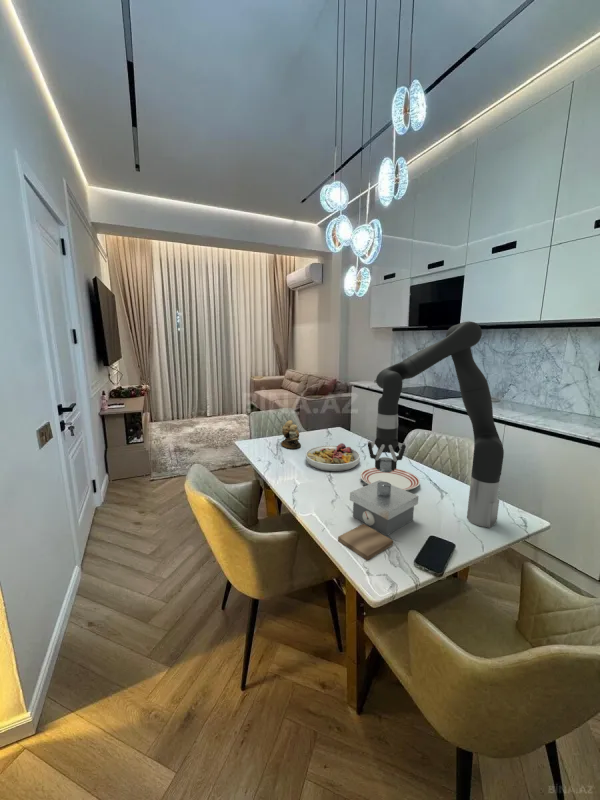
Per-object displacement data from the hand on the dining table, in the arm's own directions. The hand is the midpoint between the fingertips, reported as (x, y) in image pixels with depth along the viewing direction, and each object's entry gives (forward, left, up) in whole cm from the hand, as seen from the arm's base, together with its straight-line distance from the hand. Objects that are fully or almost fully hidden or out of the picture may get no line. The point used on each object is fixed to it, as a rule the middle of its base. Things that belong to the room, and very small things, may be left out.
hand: (385, 469), depth 123 cm
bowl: (+54, -25, -21) cm, 63 cm away
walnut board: (-6, +17, -20) cm, 27 cm away
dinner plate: (+18, -28, -21) cm, 39 cm away
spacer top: (0, 0, 0) cm, 0 cm away
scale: (0, 0, -20) cm, 20 cm away
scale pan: (0, 0, -13) cm, 13 cm away
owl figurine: (+91, -24, -20) cm, 97 cm away
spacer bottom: (0, 0, -10) cm, 10 cm away
